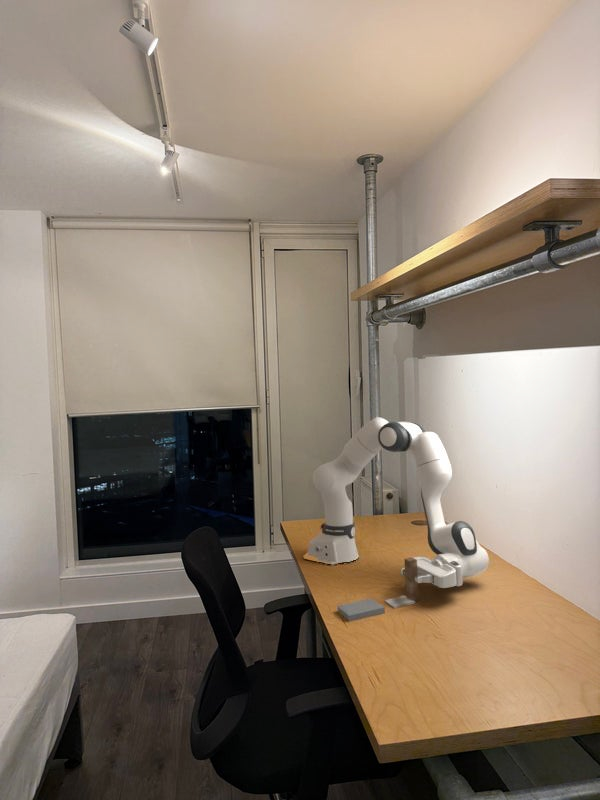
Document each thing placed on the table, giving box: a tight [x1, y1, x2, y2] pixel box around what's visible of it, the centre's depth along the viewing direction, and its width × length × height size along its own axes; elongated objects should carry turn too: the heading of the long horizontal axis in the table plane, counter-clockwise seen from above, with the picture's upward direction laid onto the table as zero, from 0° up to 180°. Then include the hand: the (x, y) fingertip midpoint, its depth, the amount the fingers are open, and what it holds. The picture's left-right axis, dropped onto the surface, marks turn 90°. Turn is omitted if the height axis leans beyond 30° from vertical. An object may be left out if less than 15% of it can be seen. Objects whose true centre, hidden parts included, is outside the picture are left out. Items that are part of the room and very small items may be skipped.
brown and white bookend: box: [384, 557, 420, 609], centre depth 178 cm, size 10×6×13 cm, turn 113°
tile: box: [337, 597, 386, 622], centre depth 172 cm, size 2×8×12 cm
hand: (408, 575), depth 179 cm, fingers open, 7 cm apart
